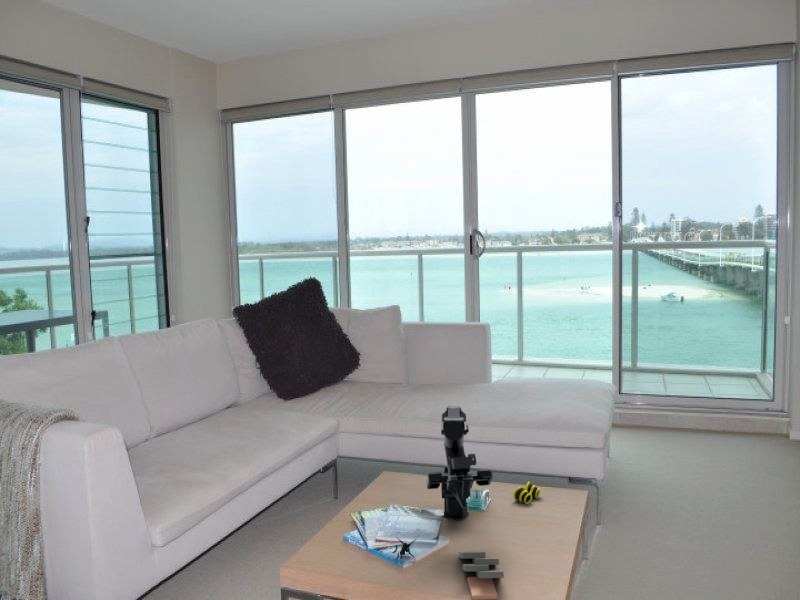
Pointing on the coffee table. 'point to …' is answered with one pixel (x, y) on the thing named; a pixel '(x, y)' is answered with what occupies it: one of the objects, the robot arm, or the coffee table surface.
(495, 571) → the domino
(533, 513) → the coffee table surface
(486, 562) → the domino
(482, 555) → the domino
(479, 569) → the domino
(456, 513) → the robot arm
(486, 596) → the end domino
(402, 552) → the creature
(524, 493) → the opera glasses
